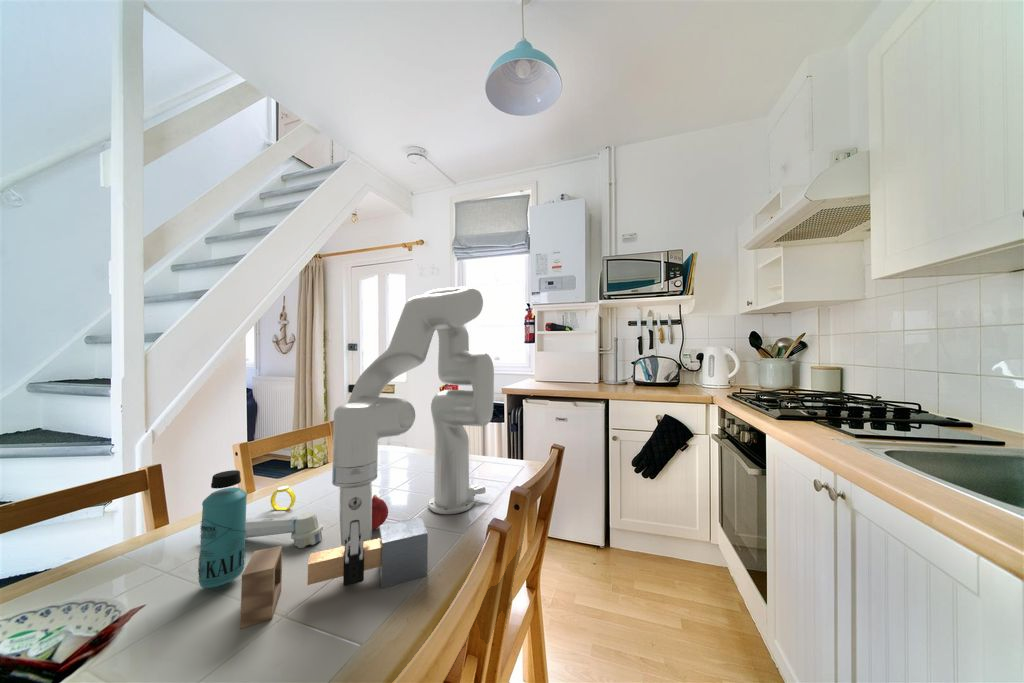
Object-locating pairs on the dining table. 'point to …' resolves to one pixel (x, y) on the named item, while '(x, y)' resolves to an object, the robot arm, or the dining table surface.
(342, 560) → the banded wooden beam
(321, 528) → the white long handled piece
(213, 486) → the beverage bottle
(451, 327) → the robot arm
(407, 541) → the sleeve
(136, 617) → the dining table surface
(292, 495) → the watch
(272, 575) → the socket
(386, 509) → the onion
